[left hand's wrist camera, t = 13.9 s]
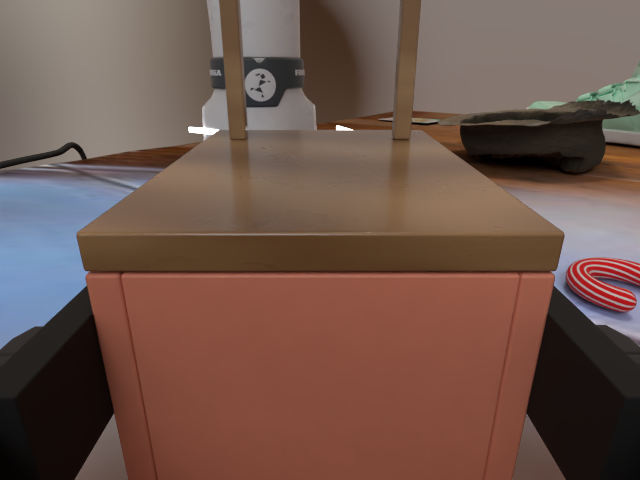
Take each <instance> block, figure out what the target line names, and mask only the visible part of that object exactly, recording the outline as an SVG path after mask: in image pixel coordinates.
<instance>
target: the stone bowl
mask: <svg viewBox="0 0 640 480" xmlns="http://www.w3.org/2000/svg"><path fill="white" fill-rule="evenodd" d="M604 102H605V100H596V101H589V100H586V101H577V102H569V103H566V104H563V105H558V106H554V107H552V108H550V109H525V110H506V111H497V112H484V113H473V114H467V115H458V116H454V117H450V118H447V119H443V120H439V121H437V122H438V124H439V125H443V126H452V125H460V135H461V140H462V143H463V145H464V147H465V149H466V150H467V152H468V155H469V157H471V158H475V157H476V156H479V157H480V158H486V157H489V158H491V157H493V158H509V157H516V158H520V157H522V156H523V155H532V156H540V157H541V158H542V159H543V160H544V161H545V162H551V163H552V164H553V165H554V166H560V167H561V168H562V170H563V171H564V172H571V173H583V172H585V171H587V170H590V169H591V168H593V167H594V166H597V165H598V164H599V163H600V162H601V160H602V158H603V156H604V153H605V146H606V144H605V136H604V134H603V130H602V122H603V120H604V119H614V118H620V117H627V116H635V115H638V114H640V112H639V111H638V110H636V105H633V106H632V103H633V102H632V103H630V99H629V100H627V101H625V102H623V103H621V102H612V101H610V100H608V101H606V102H605V103H604ZM620 103H621V104H620Z"/></svg>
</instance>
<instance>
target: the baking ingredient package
mask: <svg viewBox="0 0 640 480" xmlns="http://www.w3.org/2000/svg"><path fill="white" fill-rule="evenodd" d="M377 120H391V121H393V118H385V119H377ZM437 121H439V120H435V119H419V118H412V122H419V123H432V122H437Z"/></svg>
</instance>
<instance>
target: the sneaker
mask: <svg viewBox="0 0 640 480" xmlns="http://www.w3.org/2000/svg"><path fill="white" fill-rule="evenodd" d="M629 99H630V103H632V102H633V103H632V106H633V105H636V110H638V111H639V112H640V62H639V65H638V66H637V68H636V70H635V71H634V73H633V75H632V77H631V79H629V80H626V81H624V82H623V84H622V83H615V84H612V85H609V86H606V87H604V88H602V89H599V90H598V92H591V93H587V94H584V95H582V96H579V97H578V99H577V100H576V101H575V102H577V101H586V100H589V101H596V100H605V102H606V101H608V100H610V101H612V102H621V103H623V102H625V101H627V100H629ZM605 102H604V103H605ZM621 103H620V104H621ZM563 104H566V103H563V102H548V101H538V102H535V103H533V104H531V105H530V106H529V107H527V108H526V109H550V108H552V107H554V106H558V105H563ZM602 130H603V134H604V136H605V142H610V143H619V144H626V145H633V146H639V147H640V114H638V115H635V116H627V117H620V118H614V119H604V120H603V122H602Z"/></svg>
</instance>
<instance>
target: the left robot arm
mask: <svg viewBox="0 0 640 480" xmlns="http://www.w3.org/2000/svg"><path fill="white" fill-rule="evenodd" d="M70 148H74V149H76V150H77V152H78V153H79V155H80V157H81V159H82V160H83V159H87V157H86V155H85V153H84V151H83V149H82V148H81V147H80V146H79V145H78V144H76V143H73V142H70V143H67V144H65V145H64V146H63V147H61V148H60V149H58V150H55V151H51V152H46V153H41V154H36V155H31V156H26V157H21V158H16V159H12V160H7V161H3V162H0V169H1V168H6V167H10V166H14V165H18V164H23V163H27V162H32V161H37V160H42V159H46V158H51V157H55V156H59V155H61V154H63V153H65V152H66V151H68V150H69V149H70ZM526 413H527V415H528V416H529V418H530V420H531V421H532V423H533V425H534V426H535V428H536V430H537V431H538V433H539V435H540V437H541V438H542V440H543V442H544V443H545V445H546V447H547V448H548V450H549V452H550V453H551V455H552V457H553V458H554V460H555V462H556V463H557V465H558V467H559V468H560V470H561V472H562V474H563V475H564V477H565V479H566V480H640V347H639V346H638V345H637V344H635V343H634V342H633V341H632V340H631V339H630V338H629V337H627V336H625V335H623V334H621V333H619V332H618V331H616V330H614V329H612V328H610V327H608V326H607V325H595V324H594V323H593V322H592V321H591V320H590V319H589V318H587V317H586V316H585V315H584V314H583V313H582V312H581V311H580V310H579V309H578V308H577V307H576V306H575V305H574V304H573V303H572V302H570V301H569V300H568V299H567V298H566V297H565V296H564V295H563V294H562V293H561V292H560V291H559V290H558V289H557V288H556V287H554V286H553V290H552V295H551V299H550V304H549V309H548V313H547V318H546V323H545V327H544V332H543V337H542V341H541V346H540V351H539V355H538V360H537V365H536V369H535V374H534V379H533V383H532V388H531V393H530V397H529V402H528V407H527V411H526ZM113 414H114V409H113V405H112V400H111V395H110V391H109V386H108V381H107V376H106V372H105V367H104V362H103V358H102V353H101V348H100V344H99V339H98V334H97V330H96V325H95V320H94V316H93V311H92V306H91V301H90V297H89V292H88V287H87V286H86V287H85V288H84V289H83V290H82V291H81V292H80V293H79V294H78V295H76V296H75V297H74V298H73V299H72V300H71V301H70V302H69V303H68V304H67V305H66V306H65V307H64V308H63V309H62V310H60V311H59V312H58V313H57V314H56V315H55V316H54V317H53V318H52V319H51V320H50V321H49V322H48V323H47V324H46V325H45V326H43V327H33V328H32V329H30V330H28V331H26V332H24V333H22V334H21V335H19V336H17V337H15V338H13V339H12V340H11V341H10V342H8V343H7V344H6V345H5V346H4V347H3V348H2V349H1V350H0V480H74V479H75V478H76V476H77V474H78V473H79V471H80V469H81V468H82V466H83V464H84V463H85V461H86V459H87V457H88V456H89V454H90V452H91V451H92V449H93V447H94V446H95V444H96V442H97V441H98V439H99V437H100V436H101V434H102V432H103V431H104V429H105V427H106V426H107V424H108V422H109V420H110V419H111V417H112V415H113Z"/></svg>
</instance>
